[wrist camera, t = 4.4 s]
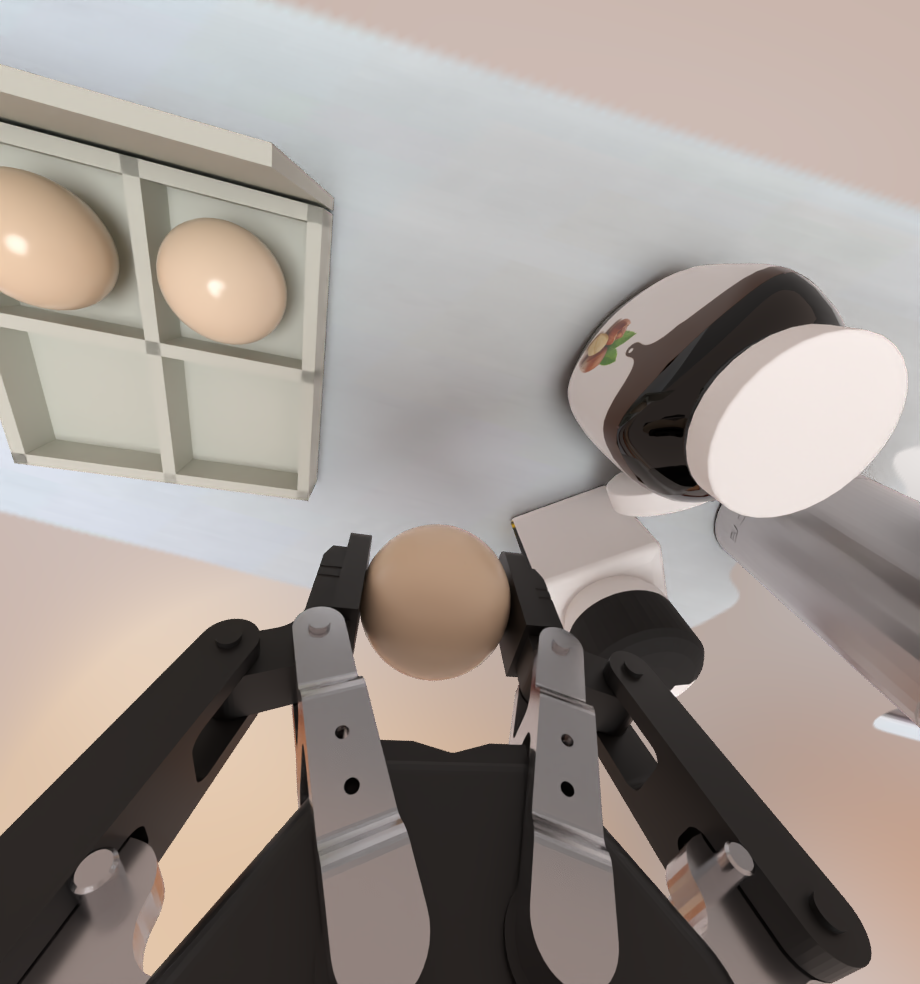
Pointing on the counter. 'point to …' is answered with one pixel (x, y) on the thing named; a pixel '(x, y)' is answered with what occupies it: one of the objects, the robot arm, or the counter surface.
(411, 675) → the egg
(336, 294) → the counter surface
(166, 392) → the egg tray
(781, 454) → the spread jar
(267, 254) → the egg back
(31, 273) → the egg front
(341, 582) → the robot arm
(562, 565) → the medicine bottle
